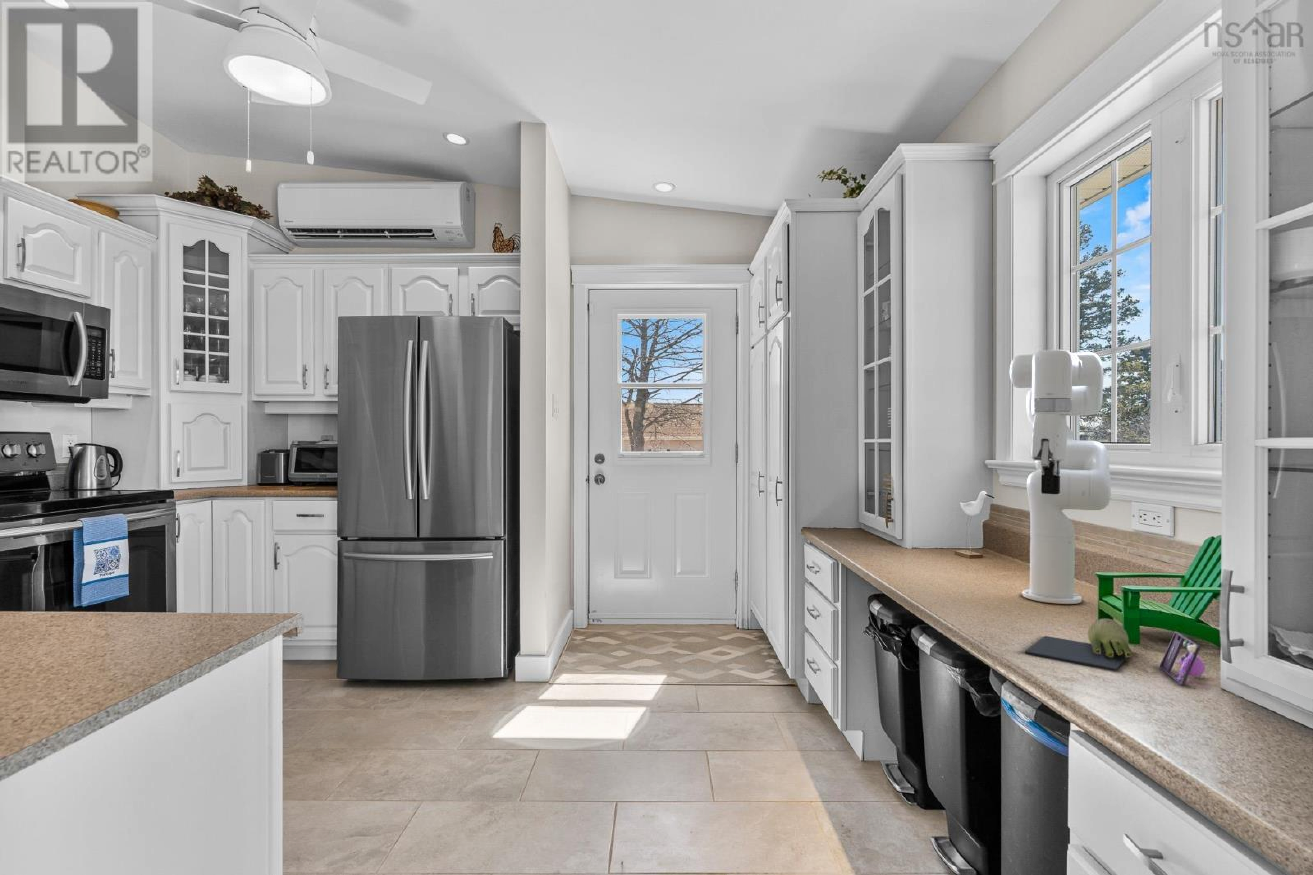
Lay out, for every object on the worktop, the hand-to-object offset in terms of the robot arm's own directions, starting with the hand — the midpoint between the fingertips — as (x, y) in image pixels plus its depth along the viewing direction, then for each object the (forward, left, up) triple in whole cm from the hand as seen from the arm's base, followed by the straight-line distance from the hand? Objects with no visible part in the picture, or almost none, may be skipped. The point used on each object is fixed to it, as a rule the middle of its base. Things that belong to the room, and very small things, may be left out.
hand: (1050, 493), depth 151 cm
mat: (+23, +10, -27) cm, 37 cm away
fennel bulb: (+13, +12, -24) cm, 30 cm away
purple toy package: (+26, +26, -27) cm, 46 cm away
